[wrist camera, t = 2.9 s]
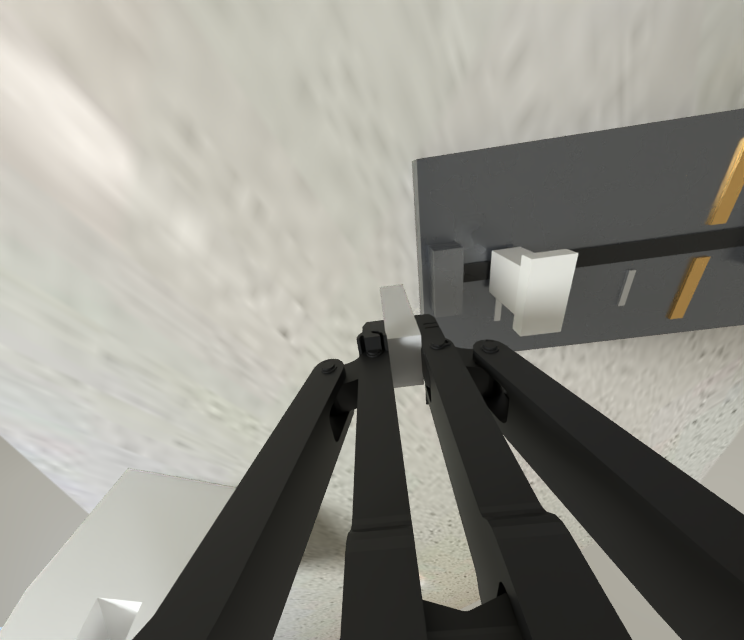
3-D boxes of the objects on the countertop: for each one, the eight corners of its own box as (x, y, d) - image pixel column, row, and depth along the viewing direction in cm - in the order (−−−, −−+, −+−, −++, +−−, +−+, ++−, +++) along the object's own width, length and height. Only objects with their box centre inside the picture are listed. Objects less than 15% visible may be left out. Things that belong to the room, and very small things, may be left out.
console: (412, 161, 19) (422, 156, 15) (841, 95, 17) (964, 72, 14) (422, 349, 26) (431, 375, 22) (724, 313, 25) (784, 335, 21)
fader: (490, 239, 19) (531, 259, 14) (524, 234, 19) (578, 253, 14) (485, 301, 21) (520, 336, 16) (516, 297, 21) (560, 331, 16)
